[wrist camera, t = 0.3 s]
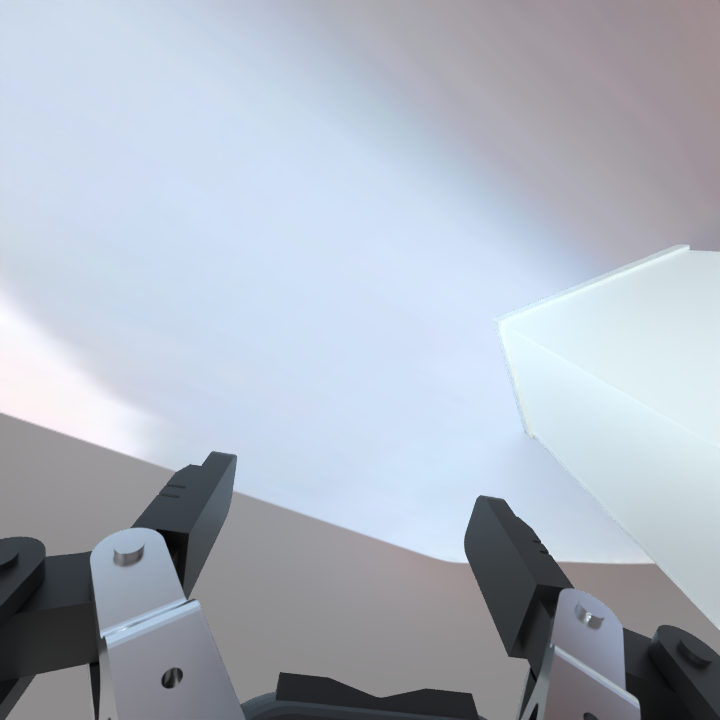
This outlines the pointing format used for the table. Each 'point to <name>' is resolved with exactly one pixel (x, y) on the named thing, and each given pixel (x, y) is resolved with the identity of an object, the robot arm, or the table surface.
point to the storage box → (634, 402)
